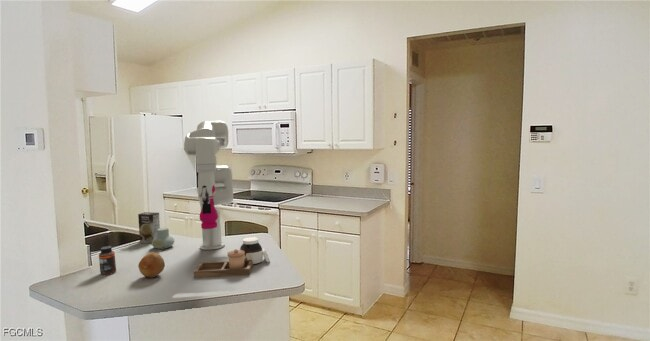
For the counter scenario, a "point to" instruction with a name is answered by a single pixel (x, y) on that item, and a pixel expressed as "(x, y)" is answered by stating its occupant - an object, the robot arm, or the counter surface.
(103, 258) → the supplement bottle
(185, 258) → the counter surface
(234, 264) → the salt crock
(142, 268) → the onion
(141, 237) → the coffee box
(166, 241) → the air freshener
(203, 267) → the caddy
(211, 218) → the pepper mill
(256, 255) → the spread jar
